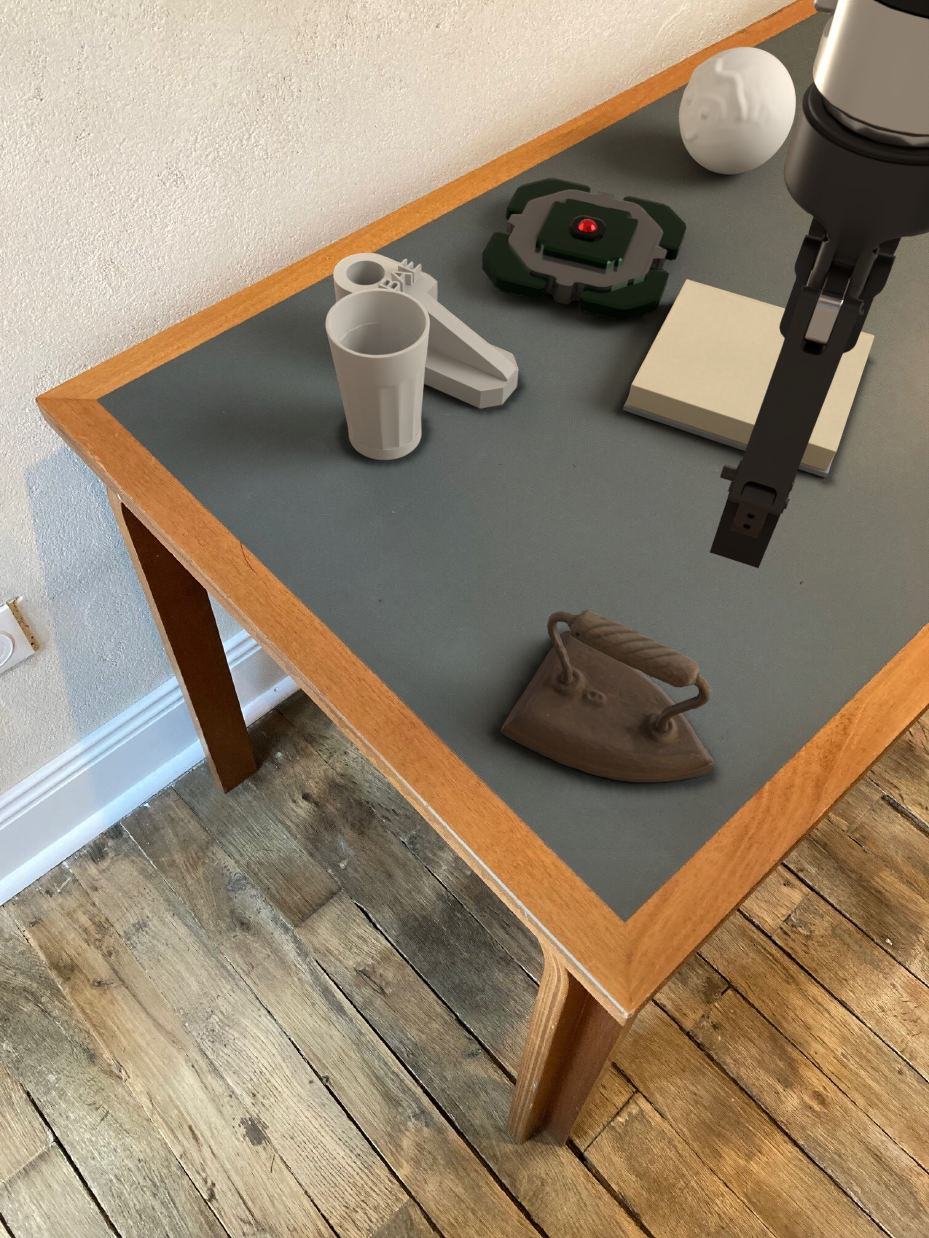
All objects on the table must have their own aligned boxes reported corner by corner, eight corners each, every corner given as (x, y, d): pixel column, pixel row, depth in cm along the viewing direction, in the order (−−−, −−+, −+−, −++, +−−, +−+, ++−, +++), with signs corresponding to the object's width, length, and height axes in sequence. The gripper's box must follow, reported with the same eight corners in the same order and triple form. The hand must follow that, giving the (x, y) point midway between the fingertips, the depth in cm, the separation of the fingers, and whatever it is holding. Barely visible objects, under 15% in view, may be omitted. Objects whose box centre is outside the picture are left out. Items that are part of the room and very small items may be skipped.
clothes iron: (499, 734, 66) (509, 655, 57) (562, 635, 71) (580, 546, 62) (680, 831, 63) (721, 763, 54) (733, 720, 67) (780, 639, 58)
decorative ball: (648, 149, 107) (670, 38, 97) (736, 127, 110) (766, 16, 100) (706, 207, 101) (735, 95, 91) (797, 182, 104) (835, 70, 94)
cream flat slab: (865, 360, 88) (877, 334, 86) (825, 478, 80) (838, 454, 78) (678, 302, 92) (685, 277, 90) (622, 410, 84) (628, 385, 82)
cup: (372, 388, 85) (363, 275, 75) (448, 422, 83) (449, 311, 73) (321, 443, 81) (304, 332, 71) (398, 480, 79) (392, 371, 69)
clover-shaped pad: (524, 193, 102) (528, 152, 98) (687, 230, 99) (697, 190, 95) (470, 294, 92) (471, 253, 88) (648, 338, 89) (657, 298, 86)
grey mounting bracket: (493, 414, 83) (498, 343, 77) (328, 341, 88) (319, 268, 81) (524, 377, 86) (532, 305, 79) (362, 307, 91) (356, 234, 84)
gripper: (870, -51, 44) (758, 321, 61) (722, 257, 31) (636, 611, 49) (1041, -23, 42) (875, 352, 60) (955, 315, 29) (778, 661, 47)
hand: (767, 470), depth 54 cm, fingers open, 13 cm apart
